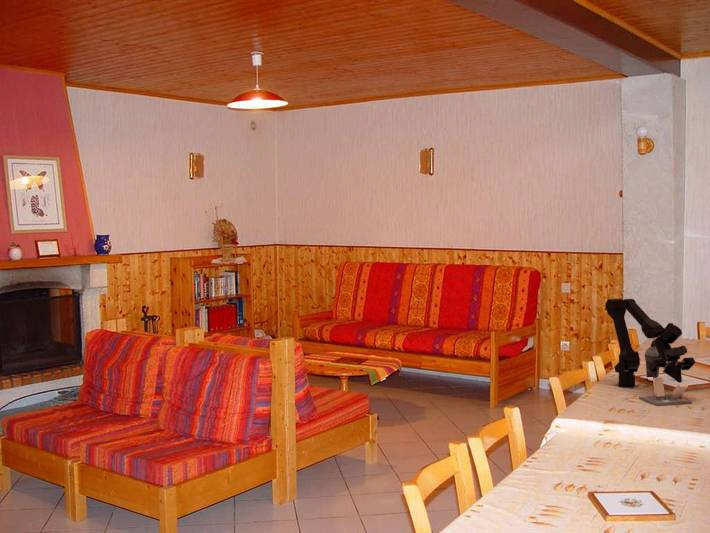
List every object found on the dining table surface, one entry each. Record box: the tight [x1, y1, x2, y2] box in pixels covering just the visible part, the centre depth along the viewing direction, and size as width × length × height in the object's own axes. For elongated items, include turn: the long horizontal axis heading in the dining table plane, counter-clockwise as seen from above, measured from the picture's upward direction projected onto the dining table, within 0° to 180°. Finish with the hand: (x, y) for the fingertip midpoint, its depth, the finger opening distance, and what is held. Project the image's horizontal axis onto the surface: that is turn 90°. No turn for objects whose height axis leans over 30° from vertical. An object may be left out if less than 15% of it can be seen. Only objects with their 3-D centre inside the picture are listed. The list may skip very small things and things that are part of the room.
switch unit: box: [638, 393, 693, 407], centre depth 336 cm, size 12×16×3 cm
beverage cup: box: [644, 338, 661, 378], centre depth 374 cm, size 7×7×20 cm
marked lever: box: [670, 382, 689, 397], centre depth 334 cm, size 1×4×8 cm
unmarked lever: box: [652, 376, 666, 398], centre depth 336 cm, size 1×4×8 cm, turn 104°
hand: (680, 382), depth 333 cm, fingers closed
